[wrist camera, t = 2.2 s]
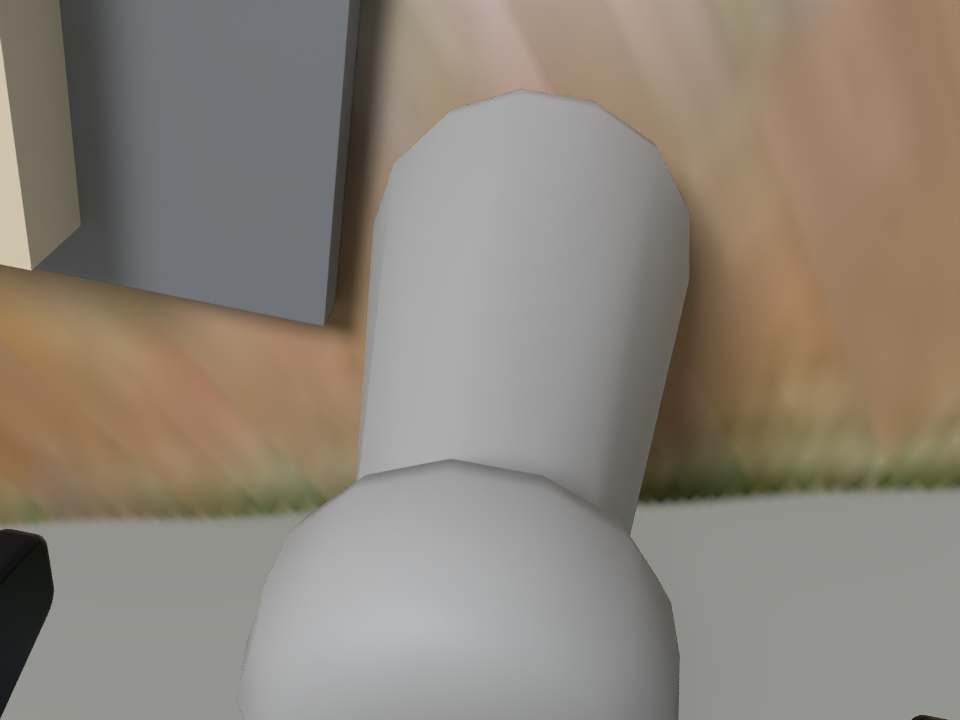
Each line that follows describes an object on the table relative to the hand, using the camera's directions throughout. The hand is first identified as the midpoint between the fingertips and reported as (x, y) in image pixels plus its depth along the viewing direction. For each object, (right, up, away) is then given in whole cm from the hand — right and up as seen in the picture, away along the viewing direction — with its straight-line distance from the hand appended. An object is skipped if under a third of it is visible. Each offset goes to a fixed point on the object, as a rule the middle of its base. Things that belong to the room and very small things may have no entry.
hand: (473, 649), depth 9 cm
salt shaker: (+1, +6, +10) cm, 12 cm away
